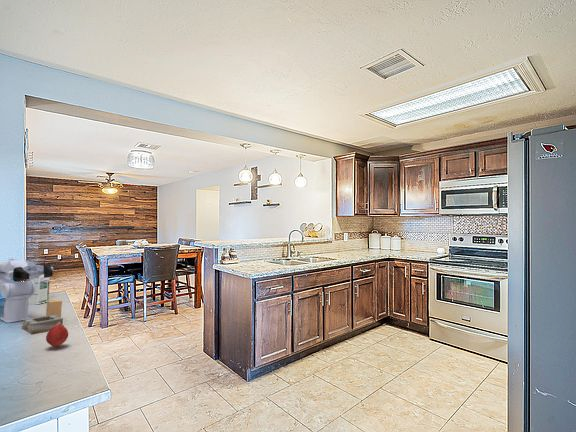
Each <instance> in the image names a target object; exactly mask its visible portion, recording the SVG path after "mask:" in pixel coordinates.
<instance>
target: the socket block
mask: <svg viewBox="0 0 576 432" xmlns="http://www.w3.org/2000/svg"><path fill="white" fill-rule="evenodd" d="M59 322H60V323H61V325H62V326H64V327H65V325H64V318H62V317H61V318H60V317H58V316H56V315H48V316H46V315H43V316H37V317H31V318H29V319H24V320H23V324H22V325H21V329H22V330H24V331H25V332H27V333H28V334H31V335H36V334H40V333H46V332H47V333H48V332H49V330H50V329H51V328H52V327H54V326H55V325H56V324H57V323H59Z"/></svg>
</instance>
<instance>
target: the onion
mask: <svg viewBox="0 0 576 432" xmlns="http://www.w3.org/2000/svg"><path fill="white" fill-rule="evenodd" d="M45 336H46V337H45V341H46V343H47V344H48V345H49V346H52V347H54V348H60V346H62V344H64V343H65V342H66V341H67V340H68V337H69V330H68V329H67V327H65V325H64V326H62V325H61V323H60V322H59V323H57V324H56V325H55V326H54V327H52V328H51V329H50V330H49V331H47V333H46V335H45Z"/></svg>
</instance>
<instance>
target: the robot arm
mask: <svg viewBox="0 0 576 432" xmlns="http://www.w3.org/2000/svg"><path fill="white" fill-rule="evenodd" d="M43 274H44V278H47V277H50V278H51V277H53V276H54V267H53V266H52V264H50V263H45V264H43V265H40V264H35V262H34V261H29V260H27V259H17V258H8V259H7V260H5V261H1V262H0V295H1V296H2V298H3V299H5V302H4V305H3V317H0V320H1V321H3V322H5V323H7V324H8V323H9V324H10V323H15V322H21V321H22V322H23V321H24V319H29V318H32V317H31V316H29V305H30V304H29V297H31V295H33V293H34V292H35V283H34V282H33V281H30V279H34V278H37V277H39V276H41V275H43ZM27 280H28V281H27Z"/></svg>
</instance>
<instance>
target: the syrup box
mask: <svg viewBox="0 0 576 432" xmlns="http://www.w3.org/2000/svg"><path fill="white" fill-rule="evenodd" d="M50 278H51V277H47V278H44V274H43V275H41V276H39V277H37V278H34V279H30V280H29V281H33V282H34V283H35V292H34V293H33V295H31V297H29V303H30V304H29V305H34V304H39V305H42V304H41V303H43V304H46V303H45V302H47V301H50V299H49V297H50V283H51V282H50V280H51V279H50Z"/></svg>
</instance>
